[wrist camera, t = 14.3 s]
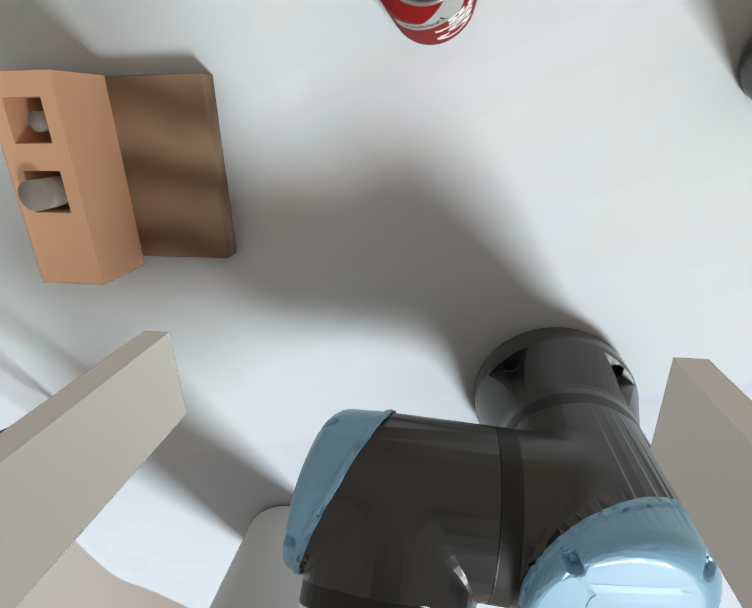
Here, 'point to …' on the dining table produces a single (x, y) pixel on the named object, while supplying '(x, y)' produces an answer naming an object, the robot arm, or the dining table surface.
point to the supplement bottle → (746, 69)
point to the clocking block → (71, 174)
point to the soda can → (430, 18)
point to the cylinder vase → (261, 568)
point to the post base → (162, 164)
